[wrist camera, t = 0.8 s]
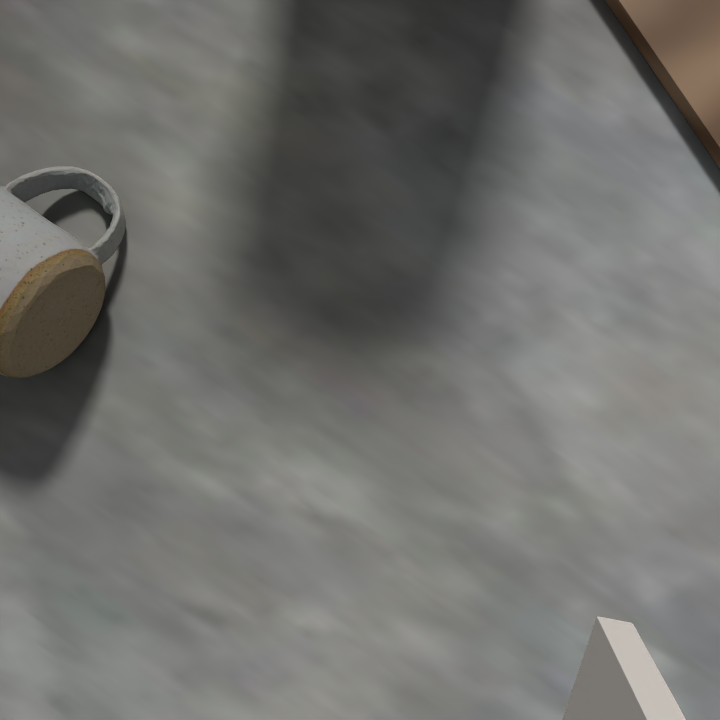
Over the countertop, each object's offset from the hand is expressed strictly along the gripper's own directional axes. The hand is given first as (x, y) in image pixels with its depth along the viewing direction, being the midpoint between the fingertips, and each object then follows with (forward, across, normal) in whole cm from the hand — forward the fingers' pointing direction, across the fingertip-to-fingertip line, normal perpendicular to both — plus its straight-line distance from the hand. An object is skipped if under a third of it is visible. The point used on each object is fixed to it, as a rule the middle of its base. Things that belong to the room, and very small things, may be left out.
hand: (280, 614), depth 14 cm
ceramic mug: (+24, +16, -1) cm, 28 cm away
